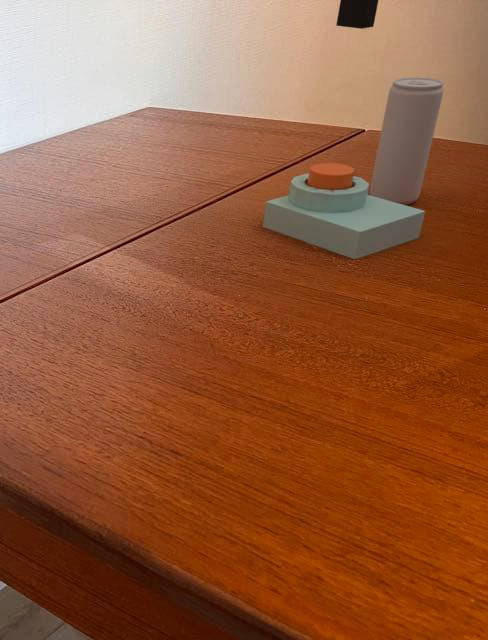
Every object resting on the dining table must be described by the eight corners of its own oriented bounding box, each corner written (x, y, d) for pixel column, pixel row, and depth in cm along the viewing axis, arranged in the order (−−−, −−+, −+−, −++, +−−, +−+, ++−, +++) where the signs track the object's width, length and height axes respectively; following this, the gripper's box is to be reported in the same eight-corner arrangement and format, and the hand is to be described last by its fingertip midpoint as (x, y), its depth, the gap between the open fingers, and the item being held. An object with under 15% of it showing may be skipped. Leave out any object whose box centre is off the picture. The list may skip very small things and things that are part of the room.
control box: (419, 238, 82) (430, 192, 79) (354, 260, 78) (364, 212, 76) (324, 208, 90) (331, 166, 88) (262, 227, 87) (268, 183, 84)
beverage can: (402, 210, 88) (429, 89, 82) (358, 200, 92) (381, 82, 86) (427, 199, 91) (455, 80, 85) (383, 189, 94) (407, 75, 88)
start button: (360, 187, 83) (364, 169, 82) (331, 195, 81) (334, 177, 80) (326, 178, 86) (329, 160, 85) (298, 185, 84) (300, 168, 83)
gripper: (427, -304, 69) (367, 14, 82) (314, -310, 64) (269, 30, 76) (519, -324, 64) (440, 21, 76) (403, -332, 58) (339, 40, 71)
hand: (354, 25), depth 76 cm, fingers closed
